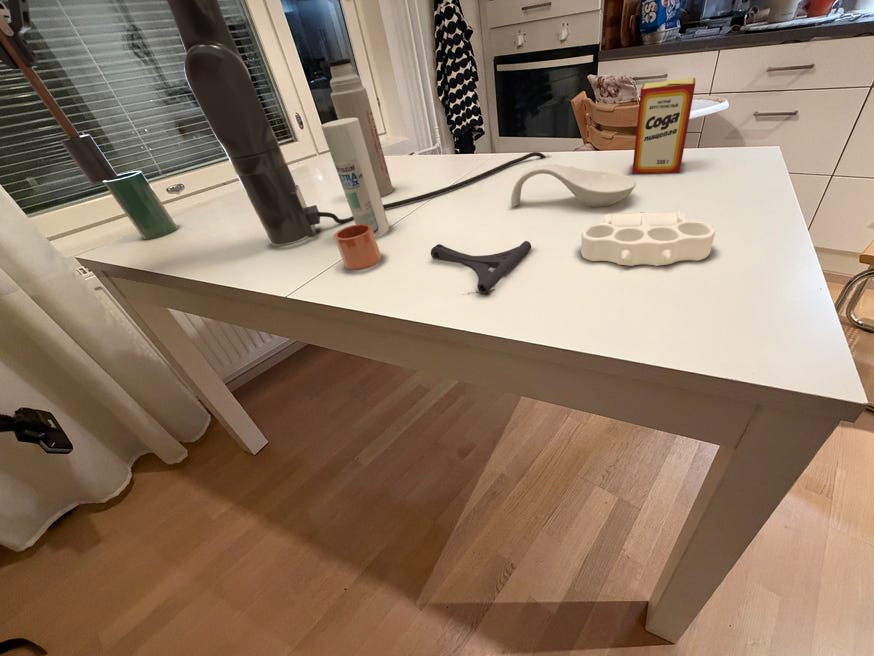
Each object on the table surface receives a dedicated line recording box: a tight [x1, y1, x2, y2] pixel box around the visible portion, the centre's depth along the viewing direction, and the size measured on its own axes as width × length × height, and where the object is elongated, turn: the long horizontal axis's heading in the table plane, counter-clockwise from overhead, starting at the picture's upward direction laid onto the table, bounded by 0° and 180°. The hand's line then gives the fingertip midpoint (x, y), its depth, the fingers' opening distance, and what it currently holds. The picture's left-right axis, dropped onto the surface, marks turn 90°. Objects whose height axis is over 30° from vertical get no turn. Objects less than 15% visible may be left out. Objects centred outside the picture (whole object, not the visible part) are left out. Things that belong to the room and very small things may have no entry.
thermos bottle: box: [327, 58, 394, 198], centre depth 94 cm, size 8×8×28 cm
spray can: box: [320, 118, 390, 237], centre depth 75 cm, size 6×6×20 cm
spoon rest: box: [510, 163, 637, 208], centre depth 76 cm, size 24×12×7 cm, turn 74°
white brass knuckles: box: [580, 210, 716, 267], centre depth 59 cm, size 3×18×15 cm
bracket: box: [430, 240, 532, 295], centre depth 63 cm, size 14×15×3 cm
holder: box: [333, 224, 382, 271], centre depth 68 cm, size 6×6×6 cm
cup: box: [102, 170, 178, 240], centre depth 98 cm, size 8×8×14 cm
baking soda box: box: [631, 77, 696, 175], centre depth 82 cm, size 10×6×16 cm
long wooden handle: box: [0, 28, 119, 184], centre depth 67 cm, size 4×4×22 cm
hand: (25, 67), depth 63 cm, fingers closed on long wooden handle, 1 cm apart
